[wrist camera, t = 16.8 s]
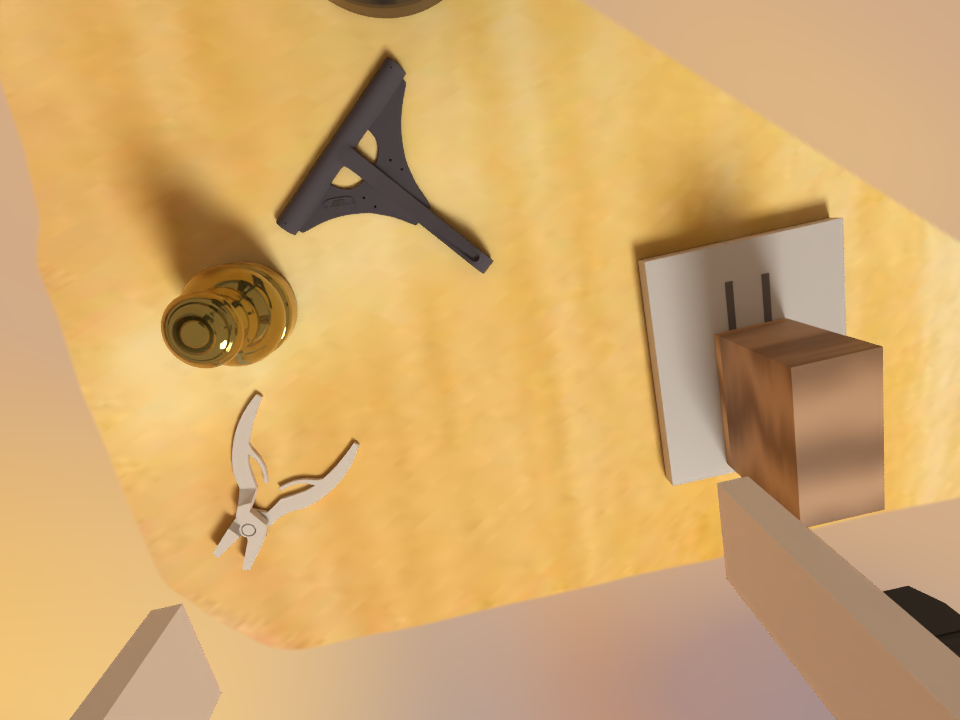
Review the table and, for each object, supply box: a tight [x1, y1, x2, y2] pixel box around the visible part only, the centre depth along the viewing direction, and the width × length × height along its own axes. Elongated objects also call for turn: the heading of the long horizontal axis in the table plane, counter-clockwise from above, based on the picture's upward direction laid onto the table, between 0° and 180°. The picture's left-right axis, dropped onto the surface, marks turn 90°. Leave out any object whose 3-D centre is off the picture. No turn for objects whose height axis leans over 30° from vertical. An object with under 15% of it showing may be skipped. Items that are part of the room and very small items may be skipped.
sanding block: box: [714, 318, 885, 527], centre depth 40 cm, size 12×6×10 cm, turn 12°
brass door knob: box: [161, 262, 297, 368], centre depth 37 cm, size 7×7×10 cm
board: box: [638, 218, 846, 486], centre depth 45 cm, size 20×16×2 cm
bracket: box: [276, 57, 493, 274], centre depth 40 cm, size 14×15×3 cm
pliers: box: [213, 393, 359, 570], centre depth 46 cm, size 10×2×15 cm
